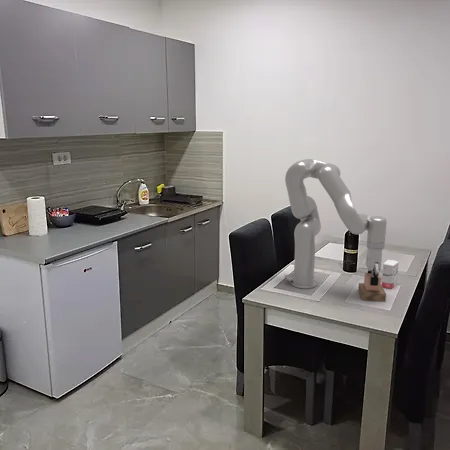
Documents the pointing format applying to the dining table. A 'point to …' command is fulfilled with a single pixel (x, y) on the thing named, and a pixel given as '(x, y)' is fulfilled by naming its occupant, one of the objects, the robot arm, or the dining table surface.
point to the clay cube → (368, 279)
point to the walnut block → (371, 294)
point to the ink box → (390, 274)
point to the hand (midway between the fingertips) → (372, 282)
